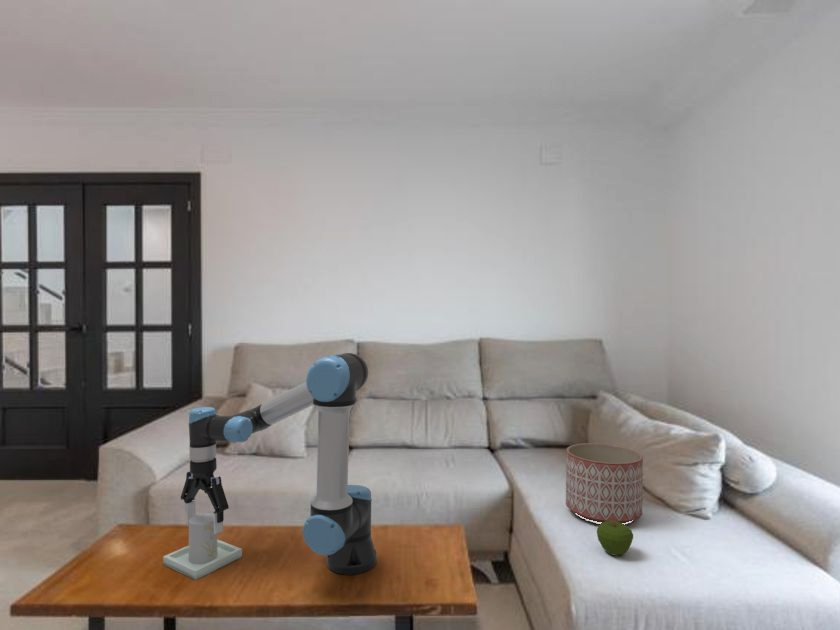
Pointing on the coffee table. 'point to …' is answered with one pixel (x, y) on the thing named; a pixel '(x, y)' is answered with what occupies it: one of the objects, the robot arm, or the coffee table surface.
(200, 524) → the cup
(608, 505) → the planter
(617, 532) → the apple
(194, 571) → the tray
